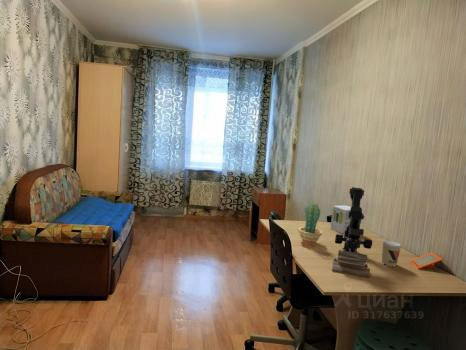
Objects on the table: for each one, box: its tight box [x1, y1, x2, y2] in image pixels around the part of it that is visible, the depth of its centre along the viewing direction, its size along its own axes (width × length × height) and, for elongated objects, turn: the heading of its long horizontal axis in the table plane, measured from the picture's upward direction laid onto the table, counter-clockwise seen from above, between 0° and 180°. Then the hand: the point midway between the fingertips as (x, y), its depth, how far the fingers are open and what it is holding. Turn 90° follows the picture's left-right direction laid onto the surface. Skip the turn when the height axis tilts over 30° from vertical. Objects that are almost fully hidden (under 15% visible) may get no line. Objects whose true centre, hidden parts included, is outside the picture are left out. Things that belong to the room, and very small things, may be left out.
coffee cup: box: [381, 240, 402, 267], centre depth 205 cm, size 9×9×12 cm
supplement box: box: [330, 204, 352, 235], centre depth 266 cm, size 13×13×18 cm
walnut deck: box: [331, 257, 370, 279], centre depth 192 cm, size 14×18×2 cm
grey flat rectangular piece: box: [336, 249, 368, 265], centre depth 192 cm, size 12×14×2 cm
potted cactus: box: [297, 202, 323, 246], centre depth 231 cm, size 15×15×25 cm
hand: (352, 255), depth 191 cm, fingers closed
